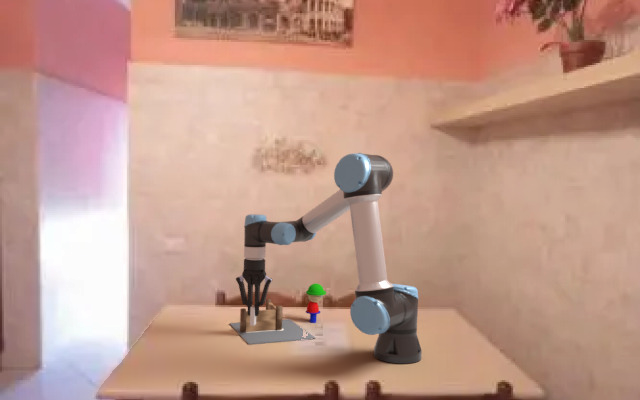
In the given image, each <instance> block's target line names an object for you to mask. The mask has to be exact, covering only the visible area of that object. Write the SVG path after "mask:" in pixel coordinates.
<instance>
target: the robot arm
mask: <svg viewBox="0 0 640 400" xmlns="http://www.w3.org/2000/svg"><path fill="white" fill-rule="evenodd" d="M333 174H334V175H333V177H334V183H335V185H336V186H337V187H338V188H339V190H338V191H337V190H336V192H334V193H333V194H332V195H330V196H329V197H327V198H325V200H324V201H321V203H319V204H318V205H316V206H314V207H313V208H312V209H311V210H309V211H308V212H306V213H305V214H304V215H303V216H301V217H300V218H298V219H297V220H292V221H291V220H290V221H289V220H287V221H268V220H267V216H266V215H265V214H258V213H256V214H247V215H246V216H245V217H244V226H243V227H244V239H243V240H244V243H243V244H244V245H243V246H244V248H243V257H244V259H243V270H242V273H241V275H240V276H237V277H236V278H235V280H236V281H235V282H237V284H238V289H239V293H240V297H241V303H242V304H243V305H245V306H247V311H248V315H249V316H250V326H254V325H255V324H256V316H258V315H259V310H260V307H261V306H262V307H263V305H265V304H266V299H267V295H268V291H269V288H270V284H271V283H272V282H273V278H271V277H269V276H268V275H267V272H266V259H265V258H266V249H267V247H266V245H267V244H272V245H273V244H274V245H278V246H289V245H291V244H292V243H300V242H304V243H305V242H308V241H312V240H314V238H315V237H316V235H317V233H318V232H319V231H321V230H322V229H324V228H325V227H326V226H328V225H330V224H331V223H332V222H334V221H335V220H337V219H338V218H340V217H342V216H343V215H344V214H346V213H347V212H350V217H351V218H350V219H351V227H352V228H351V229H352V235H353V243H354V250H355V251H354V253H355V260H356V266H357V267H356V268H357V275H358V285H357V286H356V287H355V289H354V293H355V294H354V295H355V299H354V300H353V302H352V304H351V305H350V309H349V310H350V311H349V313H350V319H351V320H352V323H353V325H354V326H355V328H356V329H358V330H359V331H360V332H361V333H363V334H365V335H368V336H374V335H378V337H377V339H376V342H375V345H374V348H373V355H374V358H376V359H378V360H380V361H381V362H382V361H383V362H387V363H393V364H414V363H417V362H420V361H421V360H422V358H423V357H422V355H423V354H422V353H423V352H422V348H421V344H420V341H419V340H420V339H419V337H418V336H419V335H418V331H417V330H418V312H419V308H418V307H419V291H418V289H417V287H415V286H413V285H412V286H411V285H406V284H405V285H404V284H400V283H399V284H398V283H391V281H389V280H388V274H387V265H386V258H385V249H384V242H383V241H384V240H383V234H382V226H381V217H380V210H379V200H380V199H381V198H382V196H383V193H382V192H384V191H386V190H387V188H389V187H390V185H391V184H392V183H393V182H392V181H393V178H394V169H393V166H392V164H391V162H390V161H389V160H388V159H387V158H385V157H384V156H381V155H378V154H368V153H367V154H366V153H361V152H357V153H348V154H346V155H344V156H343V157H341V158H340V160H338V162H337V164H336V165H335V169H334V172H333ZM244 280H245V282H246V284H247V292H246V288H245V283H244ZM262 282H264V285H263V289H262V293H261V284H262ZM253 294H254V295H253ZM253 299H254V301H253ZM253 304H254V305H253Z"/></svg>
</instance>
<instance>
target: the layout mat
mask: <svg viewBox="0 0 640 400" xmlns="http://www.w3.org/2000/svg"><path fill="white" fill-rule="evenodd" d="M229 325H230V327H232V328H233V329H234V330H235V332H237V333H238V334H239V336H240V337H241V338H242V339H243V340H244V341H245V342H246V344H247V345H249V346H250V345H261V344H271V343H272V344H273V343H274V344H275V343H282V342H283V343H284V342H296V340H298V341H302V340H301V339H310V340H312V339H311V338H315V339H316V337H315V336H313V335H312V334H311V333H310V332H308V331H307V332H306V334H307V333H308V336H306V338H304V337H302V336H303V329H304V328H303V327H301V326H300V325H298V324H297V323H296V322H295V321H293V320H292V319H290V318H284V319H283V318H282V330H276V329H271V330H258V331H245V332H240V321H239V322H230V323H229ZM300 327H301V328H300ZM275 328H276V327H275ZM302 328H303V329H302Z"/></svg>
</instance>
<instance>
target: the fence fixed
mask: <svg viewBox="0 0 640 400" xmlns="http://www.w3.org/2000/svg"><path fill="white" fill-rule="evenodd" d="M274 309H275V310H276V323H275V327H276V328H275V329H276V330H282V319H283V311H284V309H283V305H275V304H274V303H273V302H272V299H271V298H266V299H265V310H274Z"/></svg>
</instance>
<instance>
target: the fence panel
mask: <svg viewBox="0 0 640 400" xmlns="http://www.w3.org/2000/svg"><path fill="white" fill-rule="evenodd" d="M239 312H240V315H239V318H240V320H239V322H240V332H245V331H258V330H271V329H275V323H276V310H275V309H274V310H266V309H263V310H261V309H259V315H258V316H256V324H255V325H254V326H250V316H249V315H248V310H247V308H245V307H244V308H240V311H239Z"/></svg>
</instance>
